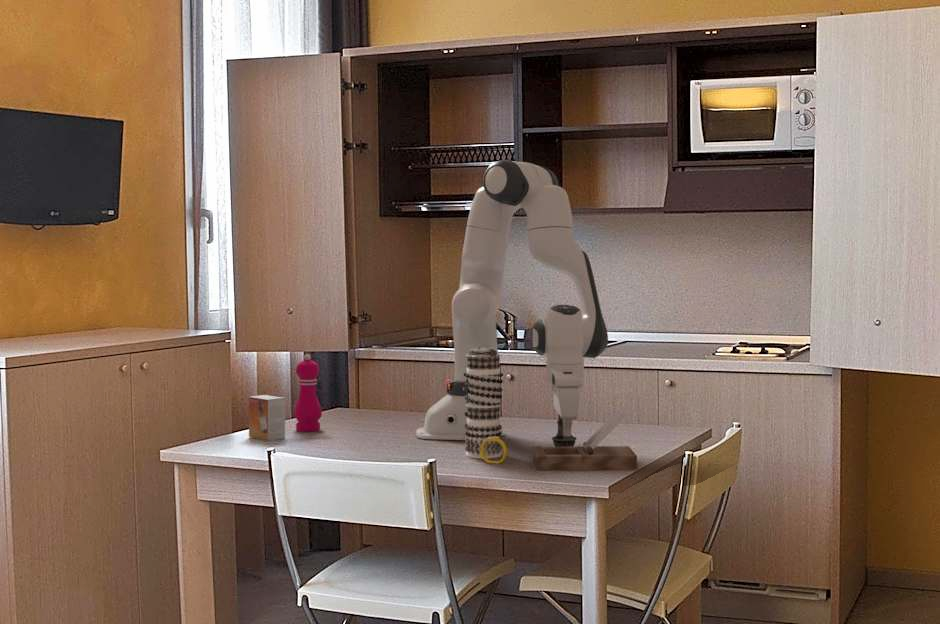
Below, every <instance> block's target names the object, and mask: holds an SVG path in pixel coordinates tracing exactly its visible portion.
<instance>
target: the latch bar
mask: <svg viewBox="0 0 940 624" xmlns="http://www.w3.org/2000/svg"><path fill="white" fill-rule="evenodd" d="M627 416H628V414H627V413H626V412H625V410H624V409H622V408H621V407H620V408H619V409H618V410H617V411H616V412H614V414H612V415H611V416H610V418H609V419H608V420H607V421H606V422H605V423H604V424H602V426H600V427H599V429H598V430H596V431H595V433H593V435H591V436H590V437H589V439H587V440H586V441H585V442H586V443H585V444H584V445H583V444H582V446H584V448H585V449H586V450H587V449H588V448H592V449H594V448H595V447H596V446H599V444H600V443H601V442H602V441H603V440H604V439H605V438H607V436H608V435H609V434H610V433H611V432H612V431H613V430H614V429H615V428H616V427H618V425H619V424H620V423H621V422H622V421H623V420H624V419H625V418H627Z"/></svg>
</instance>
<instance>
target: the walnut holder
mask: <svg viewBox="0 0 940 624" xmlns="http://www.w3.org/2000/svg"><path fill="white" fill-rule="evenodd" d="M586 442H587V441H584V442H583V444H582V445H581V446H580V445H579V446H573V447H555V446H532V462H533V464H534V466H535V469H536V471H593V470H594V471H606V470H608V471H610V470H612V471H621V470H622V471H623V470H624V471H628V470H630V471H632V470H635V471H637V470H638V455H637V454H636V453H635V452H634V451H633V449H632V448H631V447H630V446H628V445H626V446H625V445H623V446H622V445H621V446H620V445H619V446H618V445H617V446H616V445H613V446H612V445H611V446H610V445H609V446H608V445H607V446H604V445H603V446H599V445H597V446H596V447H595V448H594V449H592V448H588V449H587V450H586V449H585V448H584V446H583V445H584V444H585V443H586Z"/></svg>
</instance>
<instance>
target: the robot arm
mask: <svg viewBox="0 0 940 624" xmlns="http://www.w3.org/2000/svg"><path fill="white" fill-rule="evenodd" d="M559 185H560V184H559V180H558V177H557V176H556V175H555V173H554V172H553V171H551V170H550V169H548V168H547V167H546V166H541V165H537V164H534V163H531V162H527V161H513V160H509V159H501V160H497V161H495V162H492V163H491V164H489V165H488V167H487V168H486V169H485V172H484V174H483V178H482V186H481V187H480V188H478V189H477V191H476V192H475V195H474V197H473V199H472V203H471V205H470V209H469V213H468V218H467V223H466V228H465V233H464V234H465V236H464V242H463V246H462V253H461V266H460V267H461V268H460V280H459V286H458V290H456V292H455V293H454V295H453V297H452V299H451V322H452V323H451V324H452V337H453V346H454V347H453V348H454V379H452V380H451V379H446V381H445V383H444V386H445V387H446V395H444V396H443V397H442V398H440V399H439V400H438V401H437V402H436V403H434V404H433V405H432V406H431V407H430V408H428V410H427V412H426V414H425V418H424V423H423V425H424V426H422V427H419V428H417V429H416V431H415V435H416V437H417V438H419V439H423V440H446V441H447V440H450V441H453V440H454V441H465V440H466V439H467V438H468V436H467V435H465V433H466V432H467V431H468V430H467V429H466V428H465V427H466V425H467V417H468V407H467V406H466V403H465V402H467V400H465V395H467V394H468V393H467V392H466V391H464V388H465V387H466V385H465V384H464V381H465V380H466V379H467V377H465V376H464V373H466V374H467V367H468V364H467V360H468V358H467V356H466V355H467V354H468V353H469V352H470V350H471V349H473V348H494V349H495V350H496V351H497V353H498V354H499V351H498V340H497V339H498V337H497V317H496V315H497V314H498V312H499V309H500V304H501V297H502V291H503V284H504V283H503V281H504V275H505V274H504V272H505V264H506V258H507V252H508V245H509V237H510V232H511V227H512V220H513V217H514V214H515V213H516V212H517V211H518V210H519V209H521V210H522V211H524V212H525V213H526V218H527V219H526V220H527V241H528V248H529V253H530V254H531V256H532V257H533V259H535V260H536V262H538V263H539V264H540V265H542V266H545V267H546V268H548V269H552V270H554V271H556V272H560V273H561V274H563V275H565V276H567V277H569V278H570V279H571V280H572V281H573V282H574V285H575V287H576V291H577V295H578V296H577V297H578V300H579V304H580V308H579V307H577V306H575V305H570V304H557V305H553V306H551V307H549V309H548V311H547V312H548V313H547V316H545V317H543V318H539V319H538V320H537V321H536V322H535V323H534V324H533V326H532V327H531V348H532V350H534V351H535V353H537V354H538V355H539V356H540V357H544V358H546V363H545V364H546V365H545V368H546V372H545V373H546V374H545V375H546V376H545V378H546V383H549V384H551V390H553V408H554V409H555V410H556V412H557V413H558V414H559V415H560V417H561V418H562V419H563V435H564V436H565V437H569V436H571V435H572V426H573V421H574V420H575V421H576V420H577V419H578V415H579V408H580V400H581V399H580V398H581V387H583V385H584V384H583V383H584V382H585V359H586V358H588V359H596V358H598V357H599V356H600V355H601V354H602V353H604V351H605V350H606V349H607V348H608V344H609V334H608V329H607V326H606V322H605V320H604V317H603V313H602V309H601V305H600V300H599V295H598V290H597V286H596V281H595V277H594V273H593V268H592V265H591V262H590V259H589V256H588V255H587V253H586V252H585V251H583V250H582V249H580V247H579V245H578V243H577V241H576V239H575V235H574V226H573V225H574V223H573V214H572V209H571V204H570V199H569V195H568V193H567V191H566V190H565V189H564V188H563V187H561V186H559ZM584 358H585V359H584ZM499 388H501V384H500V383H499ZM499 394H500V395H501V392H499ZM558 414H557V415H558ZM501 419H502V418H500V425H501V426H502V428H501V429H500V430H499V431H500V432H501V433H502V435H501V436H500V437H502V436H504V435H505V432H504V428H503V425H502V424H503V423H502V420H501Z"/></svg>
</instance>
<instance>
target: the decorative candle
mask: <svg viewBox="0 0 940 624" xmlns="http://www.w3.org/2000/svg"><path fill="white" fill-rule="evenodd" d="M466 356H467V358H468V360H467V364H468V367H467V374H466V373H464V376H465V377H467V379H466V380H465V381H464V384H465V385H466V387H465V388H464V391H466V392H467V393H468V394H467V395H465V400H467V402H465V403H466V406H467V407H468V417H467V425H466V427H465V428H466V429H467V430H468V431H467V432H466V433H465V435H467V436H468V438H467V439H466V440H464V441H465V442H464V443H465V447H464V450H465V451H466V452H465V456H466V457H467V458H471V459H483V458H482V455H481V446H482V444H483V442H484V441H486V440H487V438H488V437H491V436H498V437H502V436H503V435H502V433H501V432H500V431H499V430H500V429H501V428H503V425H502V426H501V425H500V419H501V415H500V414H501V413H500V409H501V408H500V407H502V403H501V402H500V399H501V400H502V398H503V395H502V394H501V392H503V388H502V387H500V388H499V384H500V385H501V384H503V383H504V380H502V379H501V378H502V377H504V373H503V372H501V367H500V364H501V363H500V362H501V361H500V356H501V354H500V353H499V352H498V353H497V351H496V350H495V349H494V348H473V349H471V350H470V352H469V353H468V354H467V355H466ZM499 392H500V394H499ZM501 435H502V436H501ZM500 440H502V439H501V438H500ZM502 450H503V447H502V446H501V444H500V443H499V442H497V441H488V442H487V443H486V445H485V447H484V452H485V455H486V457H487V458H488V459H496V458H500V457H502V452H501V451H502Z"/></svg>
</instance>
